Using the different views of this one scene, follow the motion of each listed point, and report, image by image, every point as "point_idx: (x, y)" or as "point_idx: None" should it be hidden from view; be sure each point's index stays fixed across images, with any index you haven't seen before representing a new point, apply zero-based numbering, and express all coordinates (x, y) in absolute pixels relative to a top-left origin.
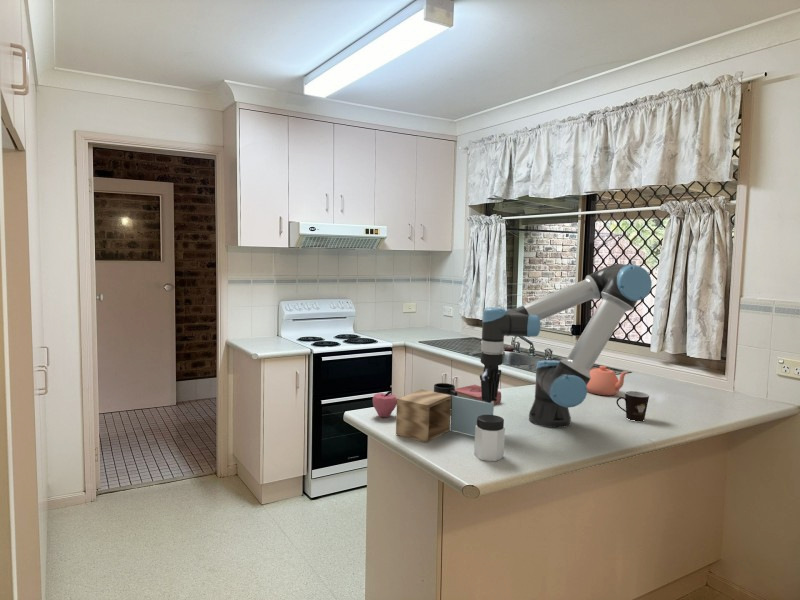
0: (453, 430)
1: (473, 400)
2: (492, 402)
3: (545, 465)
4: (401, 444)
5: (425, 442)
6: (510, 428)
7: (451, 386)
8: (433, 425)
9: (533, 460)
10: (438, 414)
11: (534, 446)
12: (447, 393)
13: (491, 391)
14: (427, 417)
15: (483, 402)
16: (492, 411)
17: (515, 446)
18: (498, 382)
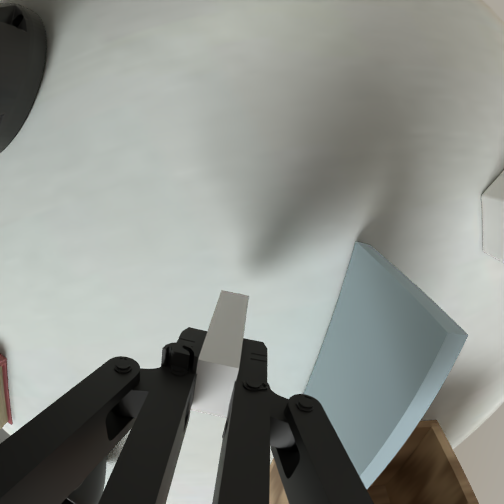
0: None
1: (385, 467)
2: (230, 362)
3: (496, 25)
4: None
5: (435, 421)
6: (125, 192)
7: None
8: None
9: (484, 55)
10: None
11: (342, 37)
12: (81, 488)
13: (250, 457)
14: (464, 476)
15: (425, 409)
16: (434, 304)
17: (387, 119)
18: (24, 449)
